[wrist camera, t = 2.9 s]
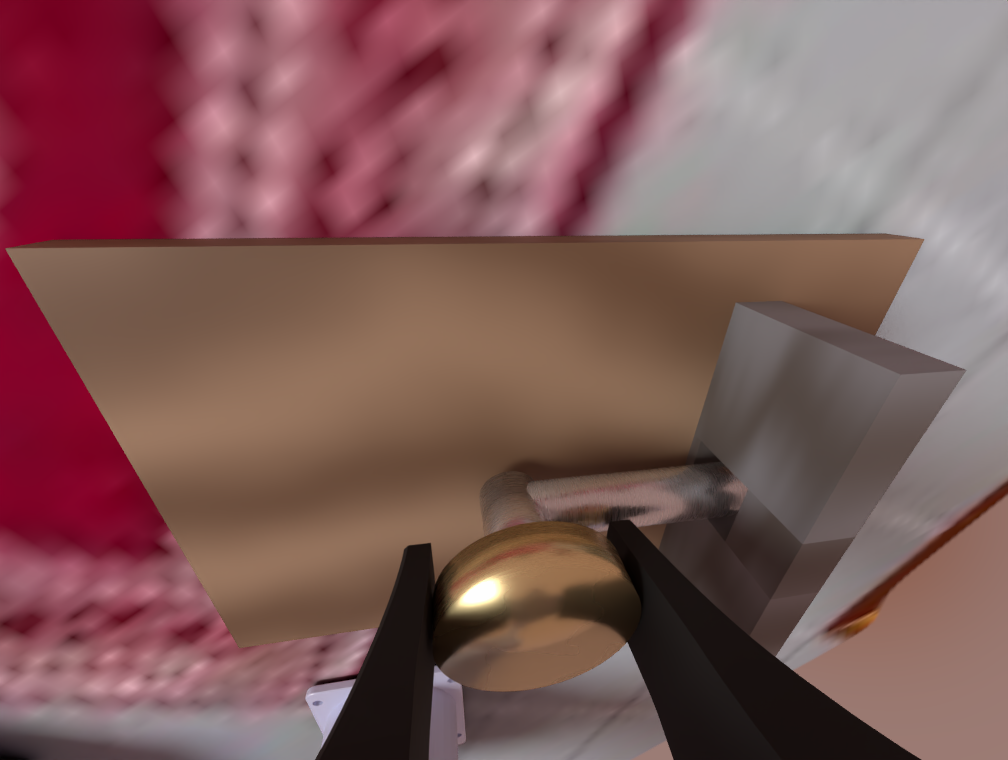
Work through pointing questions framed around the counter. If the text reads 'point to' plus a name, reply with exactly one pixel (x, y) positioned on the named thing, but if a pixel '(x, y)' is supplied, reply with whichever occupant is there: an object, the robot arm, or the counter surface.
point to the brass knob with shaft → (558, 572)
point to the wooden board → (489, 398)
